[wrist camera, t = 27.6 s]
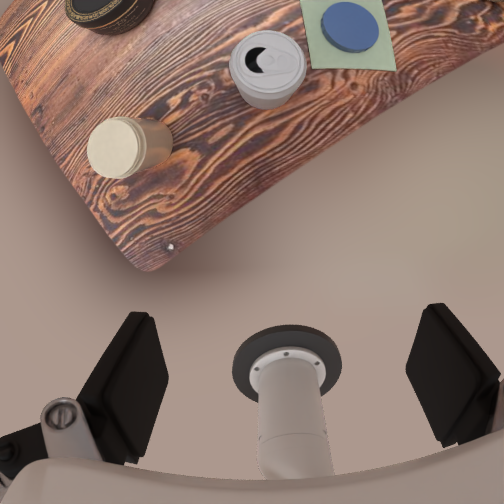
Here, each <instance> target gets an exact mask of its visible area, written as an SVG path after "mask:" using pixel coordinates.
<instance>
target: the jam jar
mask: <svg viewBox="0 0 504 504" xmlns="http://www.w3.org/2000/svg"><path fill="white" fill-rule="evenodd" d="M172 148H173V137H172V133H171V131H170V129H169V128H168V127H167V126H166V125H165V124H164V123H163V122H161V121H159V120H155V119H146V118H135V117H122V116H119V117H113V118H110V119H106V120H104V122H102V123H101V124H99V125H98V126H97V127H96V128H95V129H94V130H93V132H92V134H91V136H90V138H89V141H88V145H87V155H88V159H89V162H90V164H91V166H92V168H93V169H94V170H95V171H96V172H97V173H98V174H100V175H101V176H103V177H107V178H114V179H121V178H126V177H128V176H131V175H134V174H137V173H140V172H142V171H145V170H148V169H151V168H154V167H157V166H159V165H161V164H162V163H164V162H165V161H166V160H167V159H168V157H169V156H170V154H171V151H172Z"/></svg>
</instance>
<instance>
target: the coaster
mask: <svg viewBox="0 0 504 504" xmlns="http://www.w3.org/2000/svg"><path fill="white" fill-rule="evenodd" d="M338 2H352V3H355V4H358V5H360V6H362V7H364V8H365V9H367V10H368V11H369V12H370V13H371V14H372V15H373V16H374V18H375V19H376V21H377V24H378V27H379V36H378V39H377V41H376V42H375V44H374V45H373V46H372V47H371V48H368V50H366V51H363V52H360V53H349V52H344V51H342V50H340V49H337V48H336V47H334V46H333V45H331V43H330V42H329V41H328V40H326V38H325V36H324V34H322V29H321V27H320V26H321V19H322V17H323V16H322V15H323V14H324V12H325V11H326V10H327V8H329V7H330V6H331V5H333V4H335V3H338ZM300 5H301V10H302V15H303V21H304V26H305V31H306V37H307V43H308V49H309V55H310V61H311V68H312V69H367V70H384V71H397V70H396V64H395V58H394V52H393V47H392V42H391V37H390V32H389V28H388V24H387V19H386V15H385V11H384V7H383V4H382V0H300Z"/></svg>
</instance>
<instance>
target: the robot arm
mask: <svg viewBox="0 0 504 504" xmlns="http://www.w3.org/2000/svg"><path fill="white" fill-rule="evenodd" d="M406 374H407V376H408V378H409V380H410V382H411V384H412V386H413V388H414V391H415V393H416V395H417V397H418V399H419V401H420V404H421V406H422V408H423V410H424V412H425V415H426V417H427V419H428V421H429V424H430V426H431V428H432V431H433V433H434V435H435V438H436V440H437V441H440V442H441V444H442V447H443V448H445V447H448V446H450V445H453V444H455V443H456V442H457V443H458V445H459V446H456V447H453V448H450V449H447V450H445V451H441V452H438V453H435V454H432V455H429V456H425V457H422V458H419V459H415V460H411V461H407V462H403V463H399V464H395V465H391V466H386V467H381V468H376V469H372V470H366V471H360V472H355V473H348V474H342V475H334V470H333V465H332V459H331V453H330V448H329V441H328V435H327V429H326V423H325V418H324V412H323V406H322V400H321V395H320V389H319V388H320V386H321V385H322V384H323V382H324V380H325V376H326V369H325V365H324V362H323V360H322V359H321V358H320V357H319V356H318V354H316V353H315V352H313V351H311V350H309V349H306V348H302V347H295V346H287V347H280V348H275V349H272V350H270V351H268V352H266V353H264V354H262V355H261V356H260V357H258V358H257V359H256V360H255V361H254V363H253V364H252V366H251V369H250V377H249V379H250V383H251V385H252V388H253V389H254V390H255V391H256V392H257V393H258V394H259V401H258V440H257V464H258V467H259V470H260V472H261V474H262V475H263V476H264V478H265V479H266V480H232V479H215V478H203V477H192V476H184V475H176V474H169V473H162V472H155V471H149V470H143V469H139V468H133V467H129V466H124V463H125V462H129V463H133V464H137V463H138V460H139V457H143V456H144V455H145V452H146V449H147V446H148V443H149V439H150V436H151V433H152V430H153V427H154V424H155V421H156V418H157V415H158V412H159V409H160V405H161V402H162V399H163V396H164V393H165V390H166V387H167V384H168V379H169V376H168V371H167V368H166V364H165V360H164V357H163V353H162V349H161V345H160V341H159V338H158V333H157V329H156V325H155V321H154V318H153V317H149V314H148V313H147V312H130V313H129V315H128V317H127V318H126V319H125V321H124V323H123V324H122V326H121V327H120V329H119V330H118V332H117V333H116V335H115V336H114V338H113V340H112V341H111V343H110V344H109V346H108V347H107V349H106V350H105V352H104V354H103V355H102V357H101V358H100V360H99V362H98V363H97V365H96V367H95V368H94V370H93V371H92V373H91V375H90V377H89V378H88V380H87V382H86V383H85V385H84V386H83V388H82V390H81V392H80V394H79V395H78V397H77V399H76V400H74V399H71V398H65V397H62V398H58V399H55V400H53V401H51V402H50V403H48V404H47V405H46V406H45V407H44V409H43V411H42V413H41V417H40V419H41V423H38V424H35V425H33V426H30V427H27V428H25V429H22V430H19V431H16V432H14V433H11V434H8V435H5V436H3V437H1V438H0V504H504V379H503V380H502V381H501V382H499V380H498V378H499V376H500V375H501V373H500V372H499V371H498V369H497V368H496V366H495V365H494V364H493V362H492V361H491V360H490V358H489V357H488V356H487V354H486V353H485V352H484V351H483V349H482V348H481V347H480V346H479V344H478V343H477V342H476V340H475V339H474V338H473V337H472V336H471V335H470V333H469V332H468V331H467V330H466V328H465V327H464V326H463V325H462V323H461V322H460V321H459V320H458V319H457V318H456V317H455V315H454V314H453V313H452V312H451V311H450V310H449V309H448V307H447V306H446V305H445V304H444V303H436V304H429V305H428V306H427V308H426V309H424V310H423V313H422V317H421V320H420V323H419V326H418V330H417V333H416V337H415V340H414V343H413V346H412V349H411V352H410V355H409V358H408V361H407V364H406Z"/></svg>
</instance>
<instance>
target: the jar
mask: <svg viewBox="0 0 504 504" xmlns="http://www.w3.org/2000/svg"><path fill="white" fill-rule="evenodd" d="M153 1H154V0H66V1H65V11H66V14H67V16H68V18H69V19H70V20H71V21H72V22H74V23H76V24H77V25H78V26H80V27H83V28H86V29H89V30H91V31H93V32H95V33H98V34H103V35H116V34H120V33H124V32H126V31H128V30H130V29H132V28H133V27H135V26H136V25H138V24H139V23H140V22H141V21H142V20H143V19H144V18H145V17H146V16H147V14H148V13H149V11H150V9H151V7H152V5H153Z"/></svg>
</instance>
